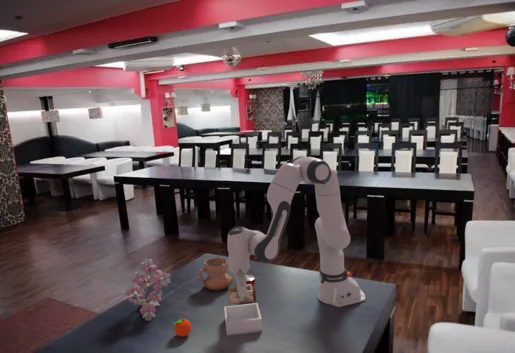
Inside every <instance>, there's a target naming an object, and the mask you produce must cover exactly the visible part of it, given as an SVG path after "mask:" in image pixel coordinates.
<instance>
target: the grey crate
mask: <svg viewBox="0 0 515 353" xmlns="http://www.w3.org/2000/svg"><path fill="white" fill-rule="evenodd" d="M223 308H224V319H225V320H224V321H225V330H226V331H225V333H226V337H230V336H237V335H244V334H245V335H247V334H253V333H254V334H255V333H260V332H263V320H262V315H261V312H260V307H259V303H258V302H254V303H252V304H246V303H242V304H236V305H235V304H234V305H229V306H228V305H227V306H224V307H223Z"/></svg>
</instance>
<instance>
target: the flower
mask: <svg viewBox="0 0 515 353" xmlns="http://www.w3.org/2000/svg"><path fill="white" fill-rule="evenodd" d="M140 266H141V267H140V269H139V270H137V271H136V270H135V273H134V276H135V278H132V283H133V284H135V283H136V285H134V286H133V288H127V290H126V291H124V292H123V294H122V296H128V297H127V301H129V303H132V304H133V303H134V305H140V306H141V308H140V309H139V312H140V314H141V315H142V318H143V319H144V320H145V321H147V322H149V321H151V320H152V317H153V318H156V314H155V312H156V311H157V308H156V306H161V304H160V303H159V302H161V301H162V297H161V296H163V295H164V292H163V290H162V288H163V287H168V286H169V285H168V284H170V283H171V280H173V279H171V276H172V274H170V273H167V272H163V271H162V270H161V269H158V265H157V264H153V259H152V258H146V257H144V260H143V259H142V261H141V262H140ZM143 267H144V268H143ZM152 271H155V273H157V274H158V275H157V274H153V275H151V274H152ZM147 274H149V275H147ZM151 283H155V284H153V285H152V288H153V291H150V292H149V294H148V296H147V297H146V294H147V292H148V289H149V288H150V286H151ZM144 289H145V290H144ZM145 297H146V299H145Z"/></svg>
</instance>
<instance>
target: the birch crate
mask: <svg viewBox="0 0 515 353" xmlns="http://www.w3.org/2000/svg"><path fill="white" fill-rule="evenodd" d="M246 287H247V295H246V296H244V300H243V301H240V298H239V296H238V293H237V287H236V285H231V286H230V285H229V286H228V287H227V288H228V300H229V305H235V304H236V305H238V304H246V302H253V289H252V285H251V284H249V285H246Z"/></svg>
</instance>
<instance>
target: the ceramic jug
mask: <svg viewBox="0 0 515 353" xmlns="http://www.w3.org/2000/svg"><path fill="white" fill-rule="evenodd" d="M203 264H204V267H205V268H201V269H199V270H198V277H199V279H200V280H201V282H202V284H203V285H204V287H205V288H206V289H208V290H211V291H221V290H225V289H227V288H228V287H229V286H230V285H231V284H232V280H233V276H231V275H230V274H228V273H226V272H227V270H229V262H228V259H227V257H223V256H221V257H220V256H219V257H212V258H208V259H206V260H205V261H204V263H203ZM202 272H204V273H206V274H208V275H207V276H206V277H205V278H203V276H202Z"/></svg>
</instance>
